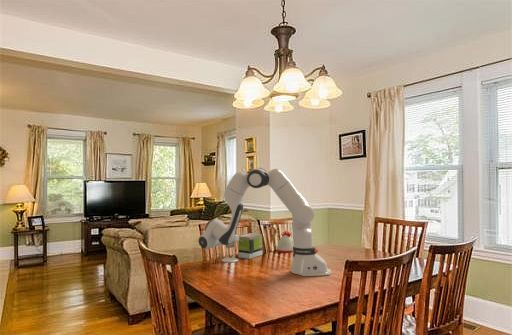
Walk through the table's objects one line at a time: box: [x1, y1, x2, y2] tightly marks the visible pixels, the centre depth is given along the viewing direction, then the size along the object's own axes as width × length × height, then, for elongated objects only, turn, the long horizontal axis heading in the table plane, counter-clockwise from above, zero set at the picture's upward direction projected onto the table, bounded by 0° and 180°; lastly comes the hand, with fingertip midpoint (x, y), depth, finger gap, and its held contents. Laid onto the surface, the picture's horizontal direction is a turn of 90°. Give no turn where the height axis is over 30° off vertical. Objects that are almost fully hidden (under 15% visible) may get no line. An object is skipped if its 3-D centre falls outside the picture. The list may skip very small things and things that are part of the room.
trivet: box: [221, 257, 239, 264], centre depth 223 cm, size 11×11×1 cm
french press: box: [225, 222, 235, 249], centre depth 225 cm, size 8×6×16 cm
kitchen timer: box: [276, 230, 294, 254], centre depth 254 cm, size 14×14×15 cm
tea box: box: [237, 232, 263, 260], centre depth 237 cm, size 15×10×15 cm
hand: (230, 235), depth 225 cm, fingers closed on french press, 6 cm apart
